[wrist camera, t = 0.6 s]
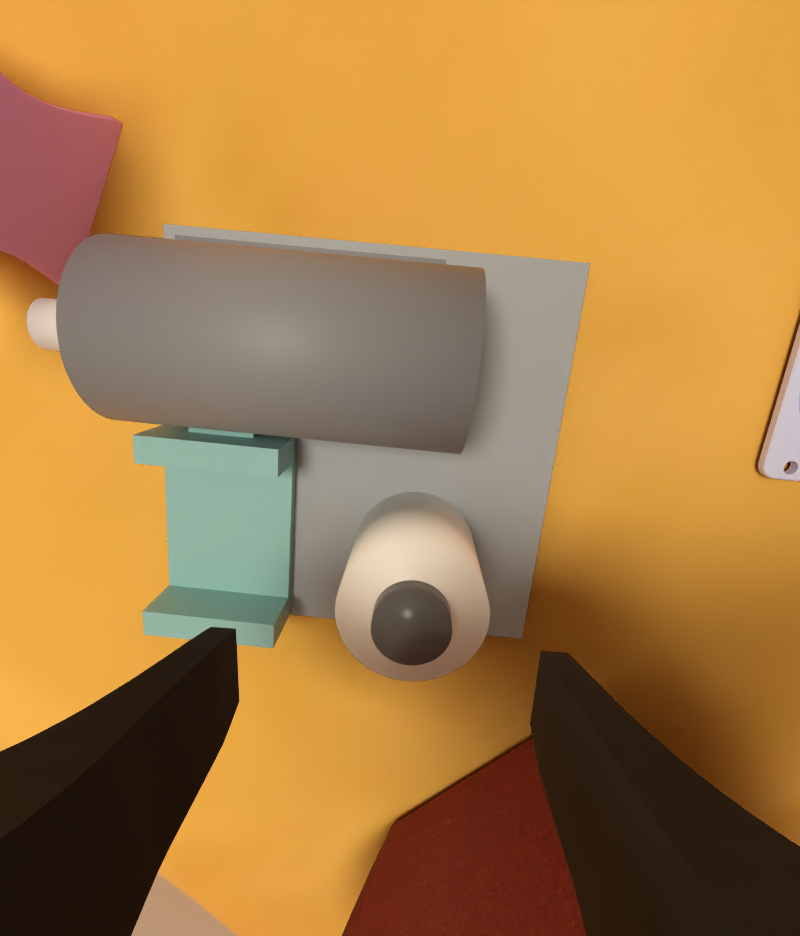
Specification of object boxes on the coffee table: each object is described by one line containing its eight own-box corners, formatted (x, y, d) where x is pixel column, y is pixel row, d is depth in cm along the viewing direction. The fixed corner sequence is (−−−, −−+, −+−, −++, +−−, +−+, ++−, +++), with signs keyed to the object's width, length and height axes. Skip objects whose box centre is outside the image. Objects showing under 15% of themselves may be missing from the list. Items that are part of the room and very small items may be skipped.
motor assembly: (582, 266, 17) (671, 226, 11) (518, 628, 21) (557, 745, 15) (110, 223, 18) (-57, 160, 12) (132, 587, 22) (16, 686, 15)
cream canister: (480, 498, 19) (505, 564, 13) (465, 605, 20) (481, 706, 15) (360, 486, 19) (334, 546, 13) (352, 593, 20) (326, 690, 15)
